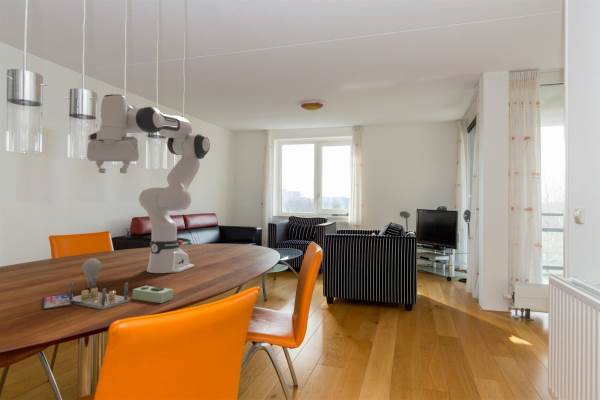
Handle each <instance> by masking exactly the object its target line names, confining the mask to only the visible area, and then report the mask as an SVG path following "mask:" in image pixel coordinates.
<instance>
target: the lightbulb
mask: <svg viewBox="0 0 600 400" xmlns="http://www.w3.org/2000/svg"><path fill="white" fill-rule="evenodd" d="M81 268H82V269H81V270H82V271H83V273H84V275H85V277H86V282H87V287H88V288H89V289H91V288H92V285H93V278H96V281H97V280H98V276H99V273H100V271H101V270H102V263H101V261H100V260H98V259H97V258H89V259H87V260H85V261H84V262H83V263H82V266H81Z"/></svg>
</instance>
